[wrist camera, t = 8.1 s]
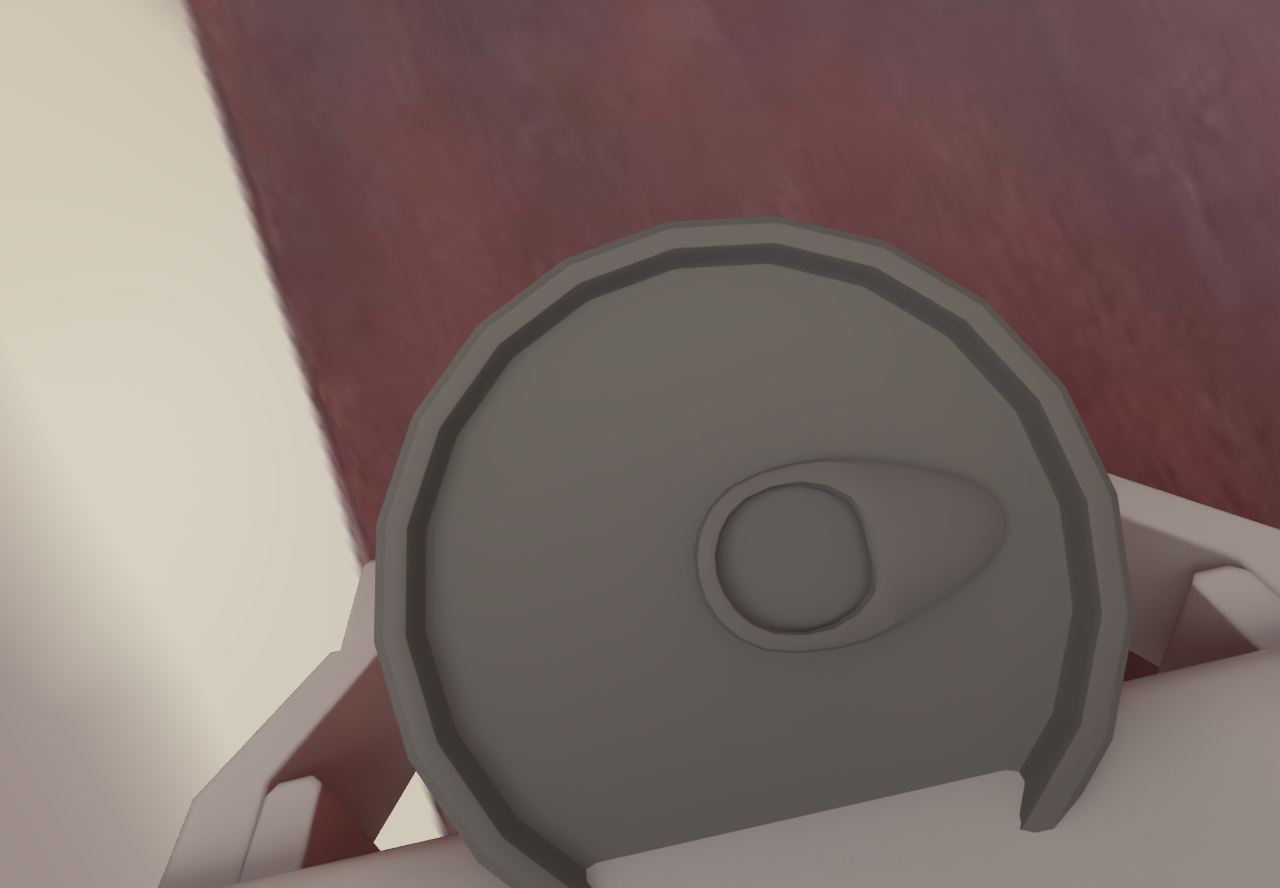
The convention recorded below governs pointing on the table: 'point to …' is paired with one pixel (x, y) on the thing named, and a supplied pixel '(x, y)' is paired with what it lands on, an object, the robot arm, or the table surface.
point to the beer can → (742, 552)
